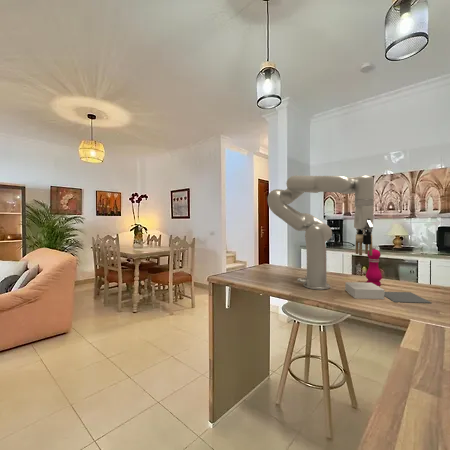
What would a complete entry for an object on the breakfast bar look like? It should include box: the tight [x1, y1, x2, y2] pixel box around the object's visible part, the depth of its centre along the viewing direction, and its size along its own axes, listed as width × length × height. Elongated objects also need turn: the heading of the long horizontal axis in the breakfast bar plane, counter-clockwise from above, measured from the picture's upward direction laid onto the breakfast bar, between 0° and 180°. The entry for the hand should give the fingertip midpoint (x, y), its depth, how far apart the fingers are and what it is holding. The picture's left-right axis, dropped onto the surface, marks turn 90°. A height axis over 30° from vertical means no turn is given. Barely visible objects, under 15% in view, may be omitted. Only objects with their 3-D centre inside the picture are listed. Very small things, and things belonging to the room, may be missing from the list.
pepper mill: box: [365, 245, 383, 287], centre depth 132 cm, size 7×7×20 cm
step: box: [344, 281, 385, 300], centre depth 116 cm, size 12×12×4 cm
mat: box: [384, 291, 432, 304], centre depth 111 cm, size 14×14×1 cm
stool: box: [355, 233, 373, 256], centre depth 115 cm, size 7×7×9 cm
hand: (363, 243), depth 115 cm, fingers closed on stool, 6 cm apart
